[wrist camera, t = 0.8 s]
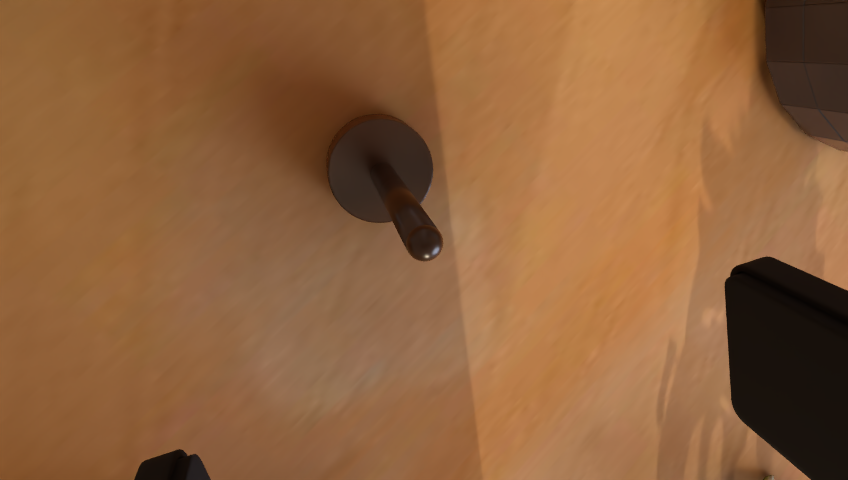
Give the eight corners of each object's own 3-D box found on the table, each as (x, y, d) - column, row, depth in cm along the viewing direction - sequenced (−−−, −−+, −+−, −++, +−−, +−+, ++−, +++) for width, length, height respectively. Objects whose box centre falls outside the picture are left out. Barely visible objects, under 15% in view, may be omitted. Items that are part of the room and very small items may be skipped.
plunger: (313, 130, 29) (321, 195, 17) (411, 101, 29) (490, 145, 17) (343, 224, 31) (371, 345, 18) (435, 196, 31) (521, 295, 19)
